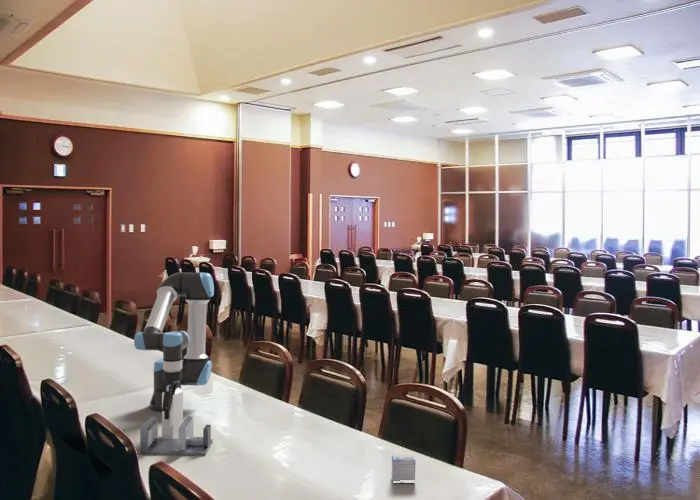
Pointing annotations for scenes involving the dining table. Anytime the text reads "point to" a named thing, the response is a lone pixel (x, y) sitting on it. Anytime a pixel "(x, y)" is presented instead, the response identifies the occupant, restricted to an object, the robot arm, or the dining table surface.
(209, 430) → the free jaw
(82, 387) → the dining table surface
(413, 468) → the medicine box
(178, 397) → the milk
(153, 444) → the vise base
